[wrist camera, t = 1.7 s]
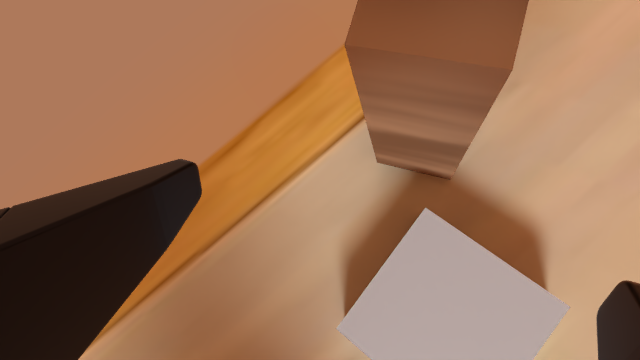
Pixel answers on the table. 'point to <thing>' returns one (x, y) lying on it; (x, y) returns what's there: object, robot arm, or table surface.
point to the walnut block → (430, 74)
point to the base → (450, 302)
